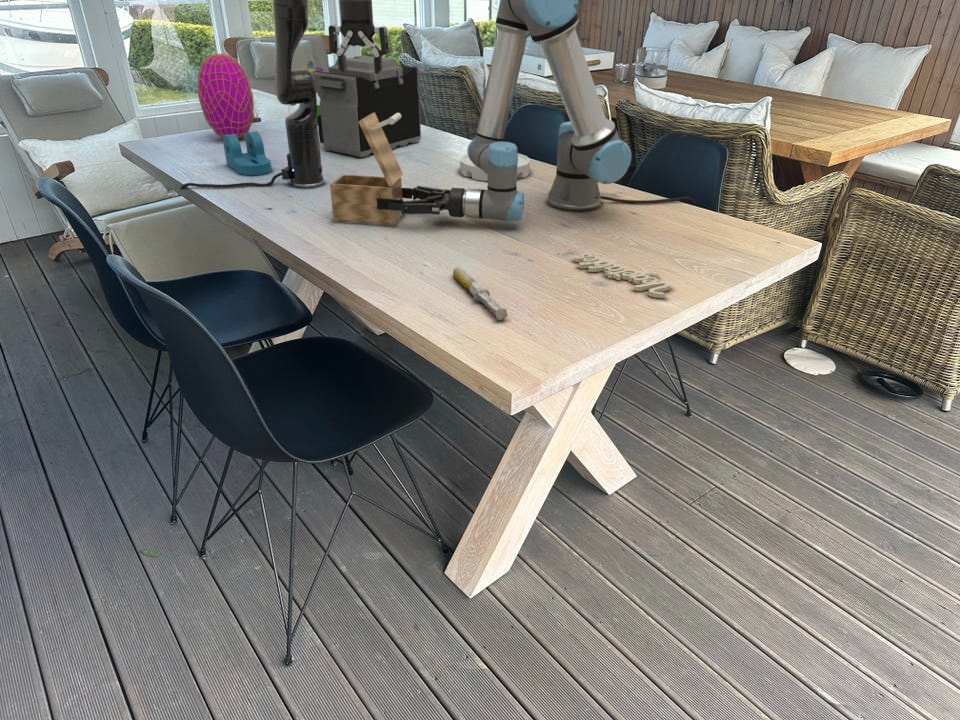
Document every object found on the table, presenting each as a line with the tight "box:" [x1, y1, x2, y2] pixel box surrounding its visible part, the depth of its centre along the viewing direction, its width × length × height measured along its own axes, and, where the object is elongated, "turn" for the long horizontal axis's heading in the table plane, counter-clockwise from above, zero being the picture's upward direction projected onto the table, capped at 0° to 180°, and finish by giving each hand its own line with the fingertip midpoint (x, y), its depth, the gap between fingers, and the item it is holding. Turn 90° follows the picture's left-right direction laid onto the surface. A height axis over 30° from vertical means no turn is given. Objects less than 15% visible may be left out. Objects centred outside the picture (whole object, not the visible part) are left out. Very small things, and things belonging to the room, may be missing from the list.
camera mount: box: [222, 131, 272, 176], centre depth 226 cm, size 18×10×10 cm, turn 35°
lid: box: [359, 112, 404, 186], centre depth 176 cm, size 17×10×8 cm
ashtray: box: [459, 153, 531, 182], centre depth 228 cm, size 23×23×4 cm
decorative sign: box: [574, 252, 671, 299], centre depth 155 cm, size 26×1×10 cm
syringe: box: [452, 266, 509, 321], centre depth 145 cm, size 25×4×3 cm, turn 21°
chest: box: [329, 173, 404, 227], centre depth 185 cm, size 17×10×10 cm, turn 80°
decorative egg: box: [197, 53, 255, 140], centre depth 258 cm, size 19×19×30 cm
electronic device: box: [311, 55, 422, 159], centre depth 250 cm, size 37×22×30 cm, turn 144°
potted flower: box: [301, 59, 325, 125], centre depth 285 cm, size 9×8×25 cm
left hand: (360, 72), depth 168 cm, fingers open, 8 cm apart
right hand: (383, 197), depth 184 cm, fingers closed on chest, 10 cm apart
